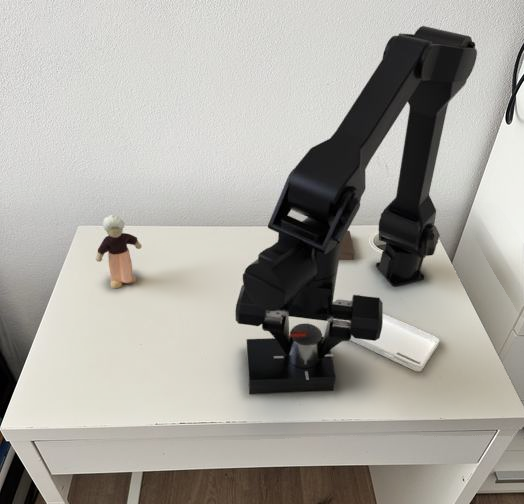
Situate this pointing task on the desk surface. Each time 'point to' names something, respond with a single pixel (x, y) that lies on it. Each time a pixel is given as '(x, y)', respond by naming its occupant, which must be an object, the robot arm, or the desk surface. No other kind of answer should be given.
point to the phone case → (402, 343)
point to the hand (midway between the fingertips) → (304, 354)
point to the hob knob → (305, 345)
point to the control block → (347, 248)
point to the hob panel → (284, 370)
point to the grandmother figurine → (117, 251)
